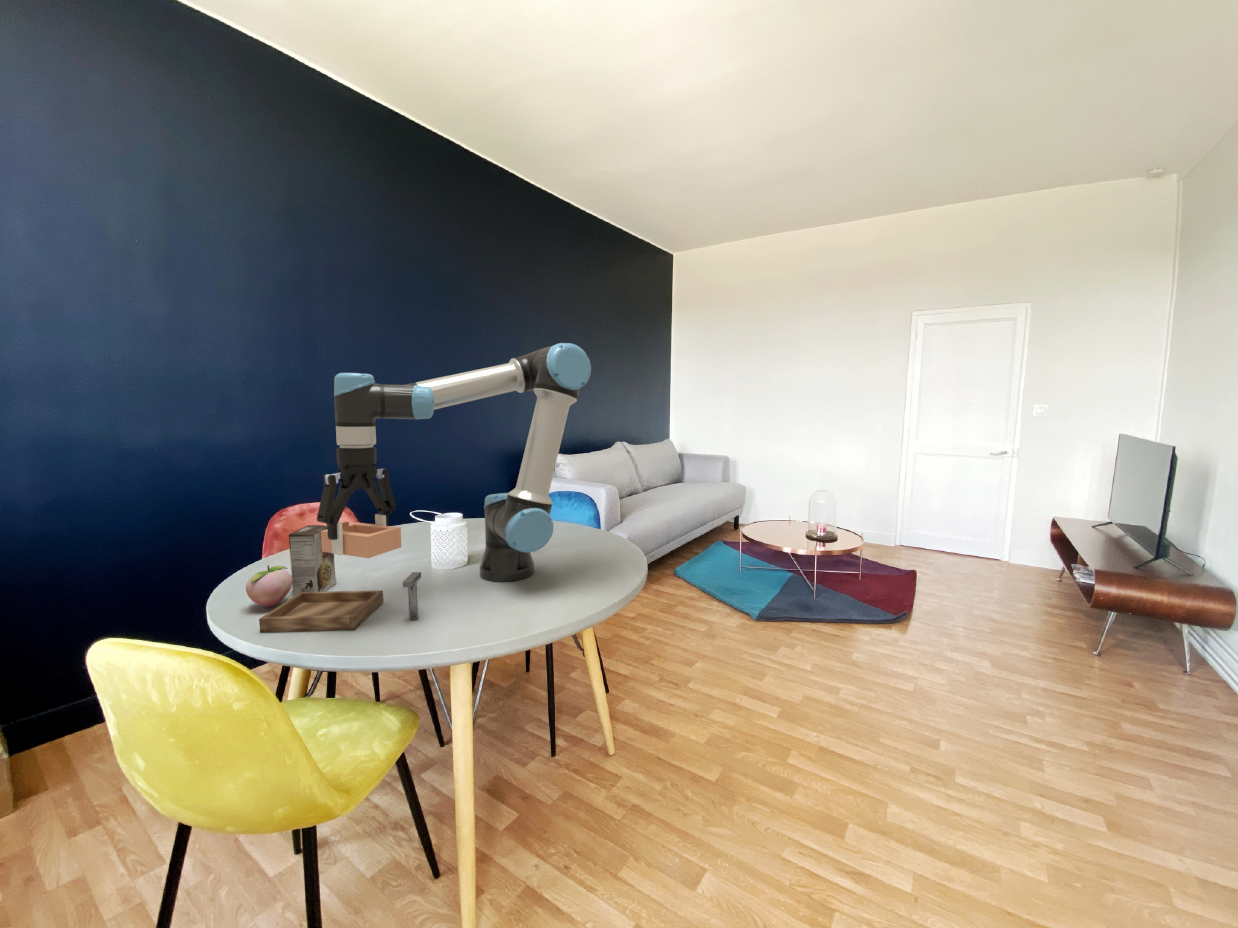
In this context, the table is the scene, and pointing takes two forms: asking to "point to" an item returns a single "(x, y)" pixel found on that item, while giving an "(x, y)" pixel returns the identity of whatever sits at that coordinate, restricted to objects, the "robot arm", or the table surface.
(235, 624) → the table surface
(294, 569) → the coffee box
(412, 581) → the grey t-shaped block
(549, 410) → the robot arm
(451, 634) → the table surface
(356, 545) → the terracotta rectangular box
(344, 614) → the tray
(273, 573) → the decorative fruit
